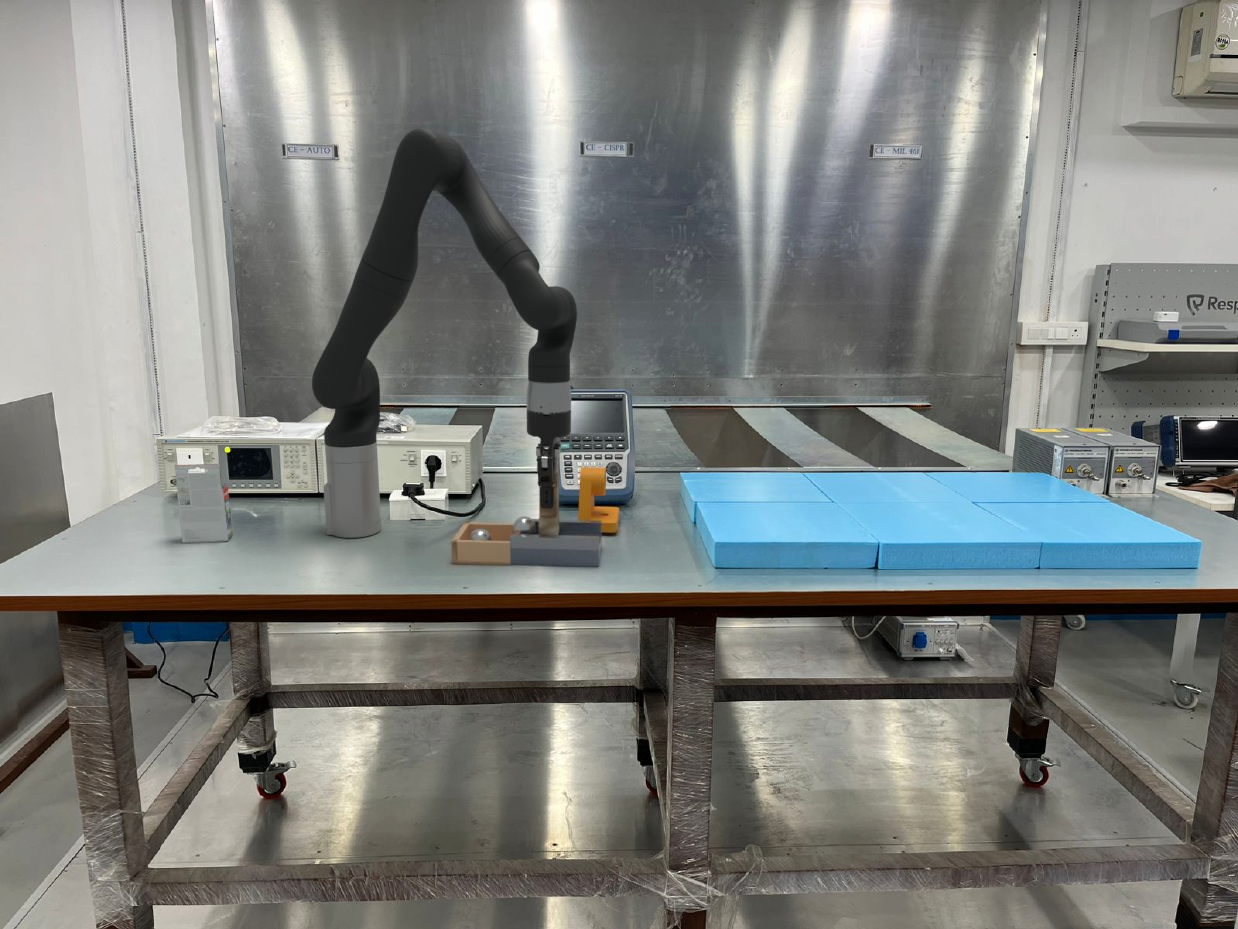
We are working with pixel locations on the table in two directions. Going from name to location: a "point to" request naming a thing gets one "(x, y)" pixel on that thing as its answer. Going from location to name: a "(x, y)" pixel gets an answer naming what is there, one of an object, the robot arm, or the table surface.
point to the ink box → (203, 504)
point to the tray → (483, 545)
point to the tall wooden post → (550, 511)
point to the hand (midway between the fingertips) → (548, 504)
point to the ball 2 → (524, 526)
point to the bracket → (590, 486)
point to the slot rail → (560, 545)
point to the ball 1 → (480, 535)
